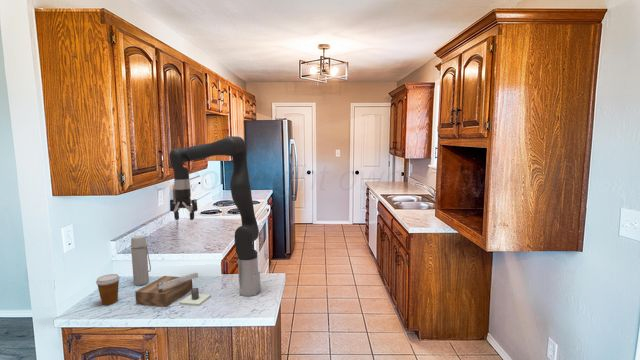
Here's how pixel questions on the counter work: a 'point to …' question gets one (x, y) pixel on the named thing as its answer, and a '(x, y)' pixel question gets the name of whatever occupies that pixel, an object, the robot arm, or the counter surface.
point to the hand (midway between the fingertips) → (184, 219)
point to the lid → (195, 298)
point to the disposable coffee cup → (108, 288)
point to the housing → (162, 292)
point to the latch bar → (176, 281)
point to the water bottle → (140, 260)
